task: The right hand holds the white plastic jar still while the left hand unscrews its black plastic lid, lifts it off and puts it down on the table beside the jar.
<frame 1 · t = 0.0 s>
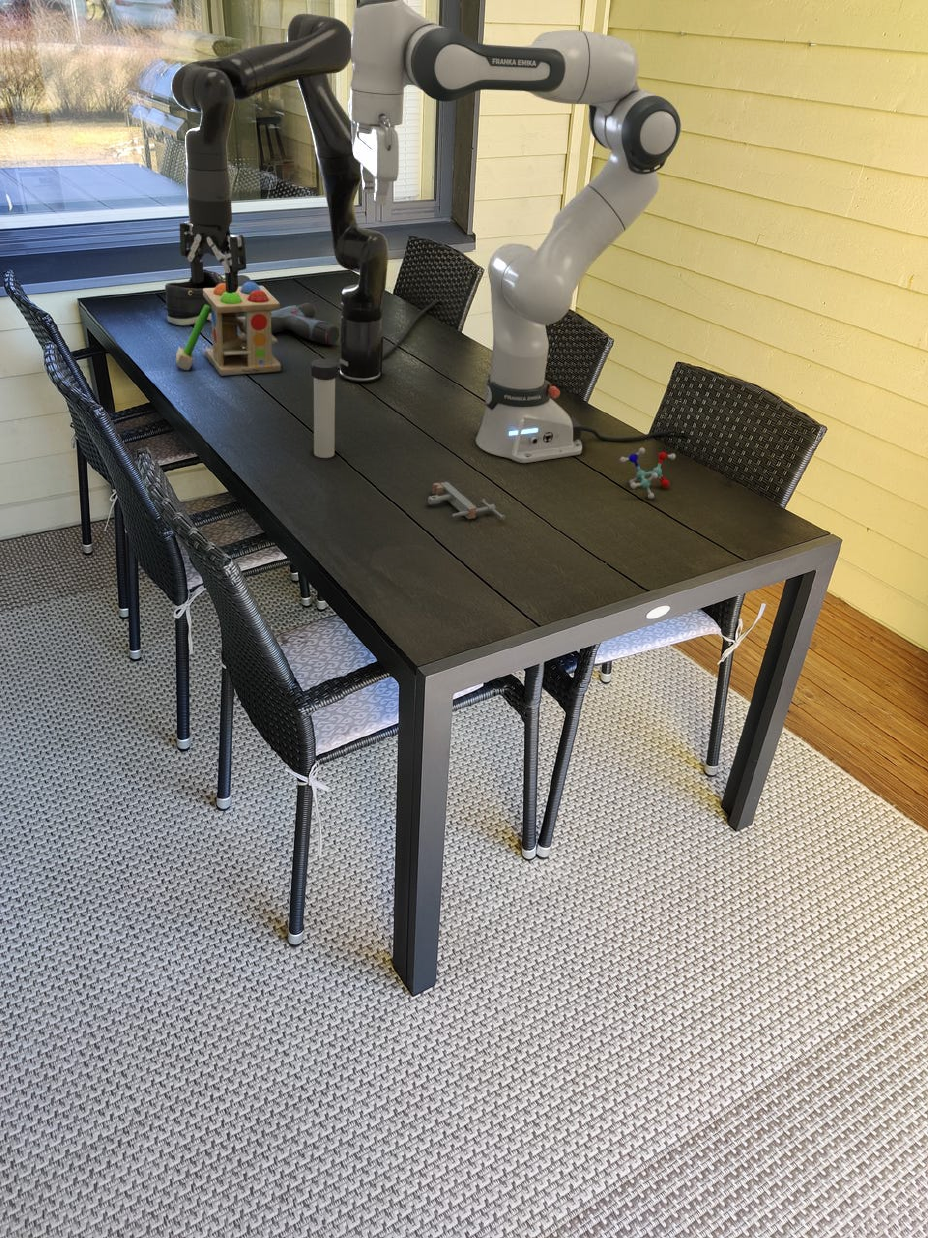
left hand: (214, 287, 183), 29 cm above the table, tool pointing down, fingers open, 8 cm apart
right hand: (373, 198, 171), 48 cm above the table, tool pointing down, fingers open, 8 cm apart
clamp: (461, 510, 180), on the table
power drill: (311, 334, 253), on the table
boat shoe: (212, 309, 263), on the table
pounding bench toy: (225, 365, 230), on the table
lid: (324, 364, 185), point 18 cm above the table, screwed on, not yet turned
molecular model: (641, 488, 194), on the table
jar: (324, 453, 195), on the table
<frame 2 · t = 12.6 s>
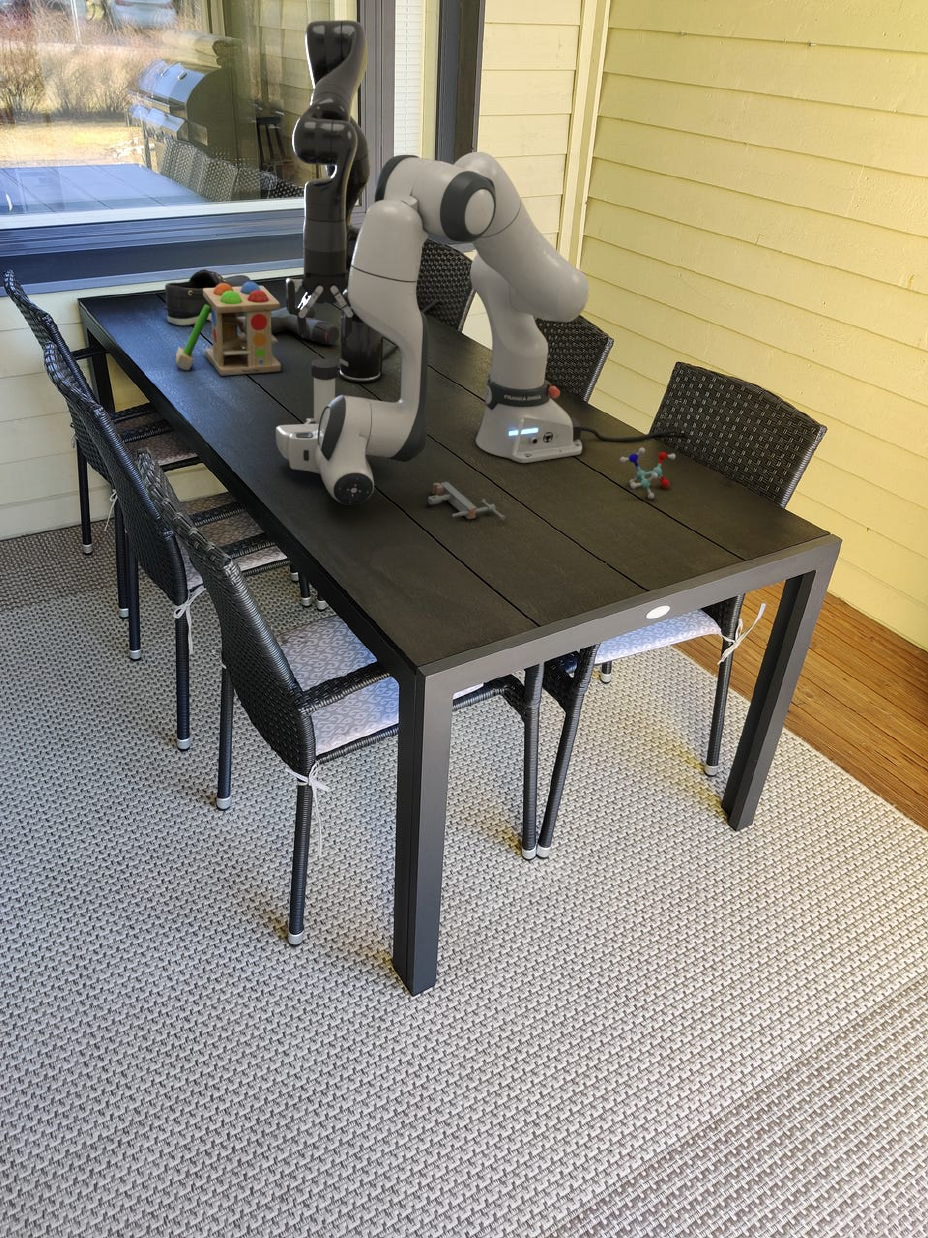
left hand: (324, 335, 182), 24 cm above the table, tool pointing down, fingers open, 7 cm apart
right hand: (323, 421, 192), 7 cm above the table, tool horizontal, fingers closed on jar, 4 cm apart
jar: (324, 453, 195), on the table, touching right hand
everything else where it was.
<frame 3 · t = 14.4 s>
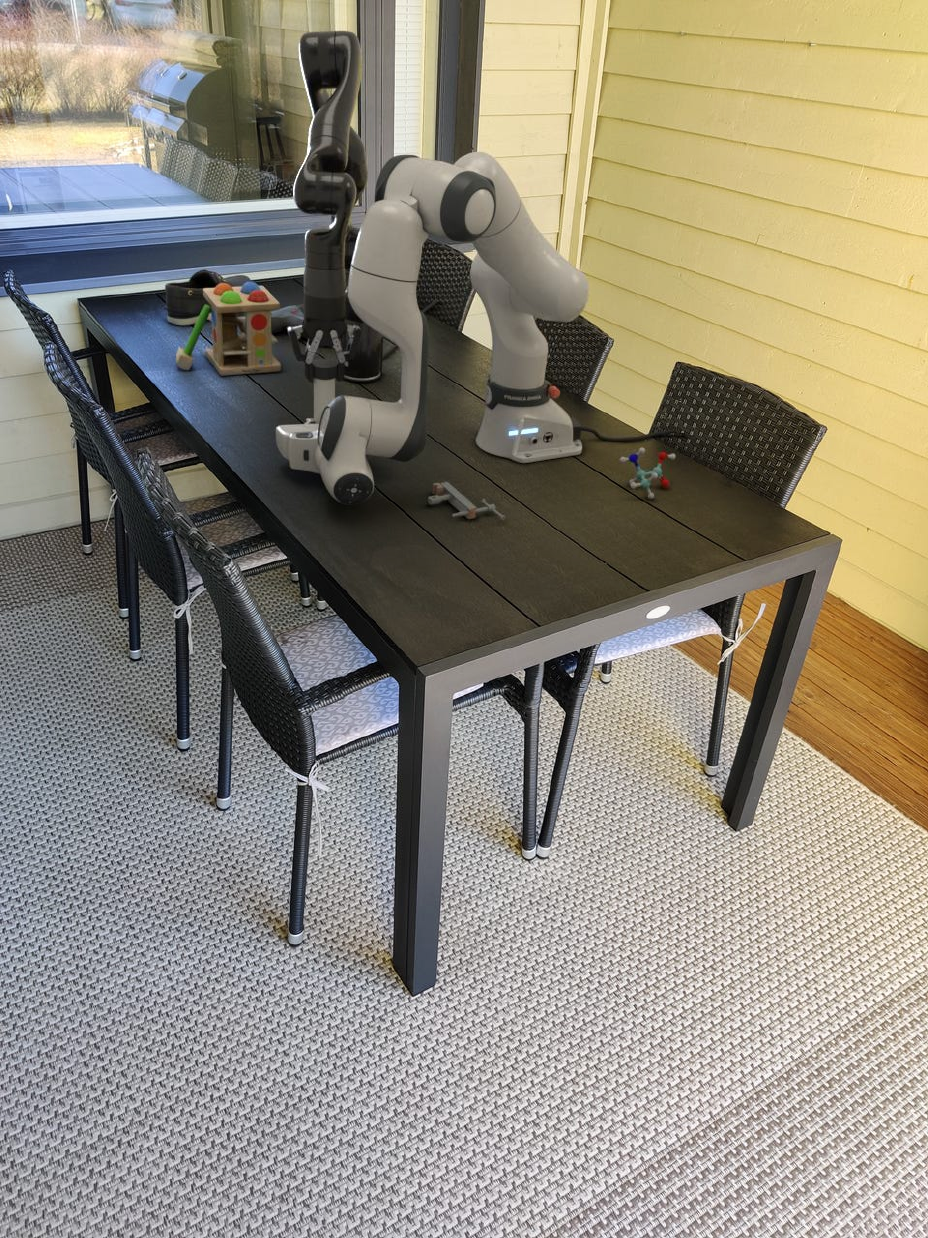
left hand: (324, 380, 187), 15 cm above the table, tool pointing down, fingers closed on lid, 4 cm apart
right hand: (323, 421, 192), 7 cm above the table, tool horizontal, fingers closed on jar, 4 cm apart
lid: (324, 364, 185), point 18 cm above the table, screwed on, not yet turned, touching left hand
jar: (324, 453, 195), on the table, touching right hand
everything else where it was.
when the left hand's fingers open (15 cm above the table, at t = 15.7 s): lid stays where it is, point 18 cm above the table.
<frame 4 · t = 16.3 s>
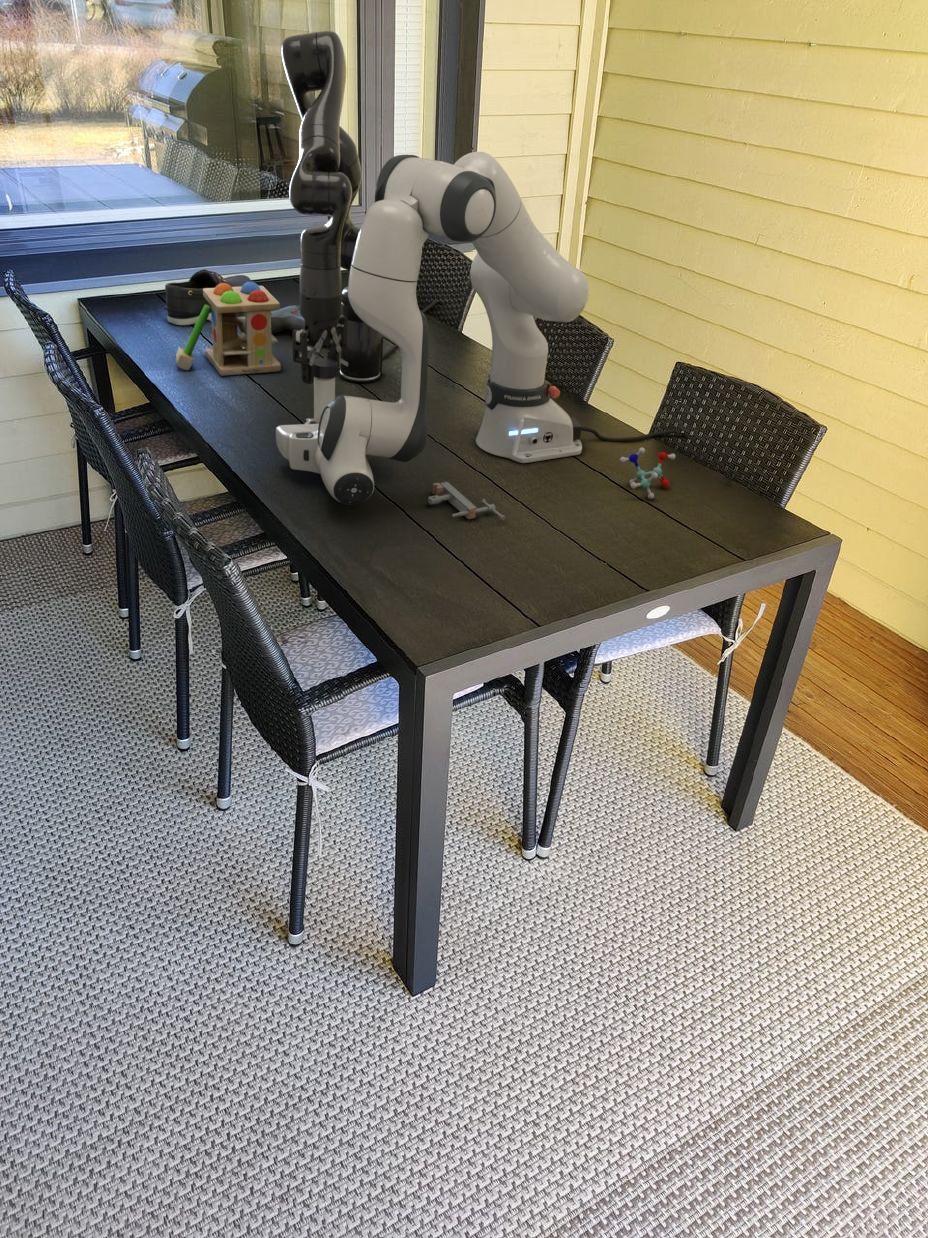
left hand: (320, 376, 187), 16 cm above the table, tool pointing down, fingers open, 7 cm apart
right hand: (323, 421, 192), 7 cm above the table, tool horizontal, fingers closed on jar, 4 cm apart
lid: (324, 363, 185), point 18 cm above the table, turned 64° so far, risen 0.2 cm, still on its thread
jar: (324, 453, 195), on the table, touching right hand
everything else where it was.
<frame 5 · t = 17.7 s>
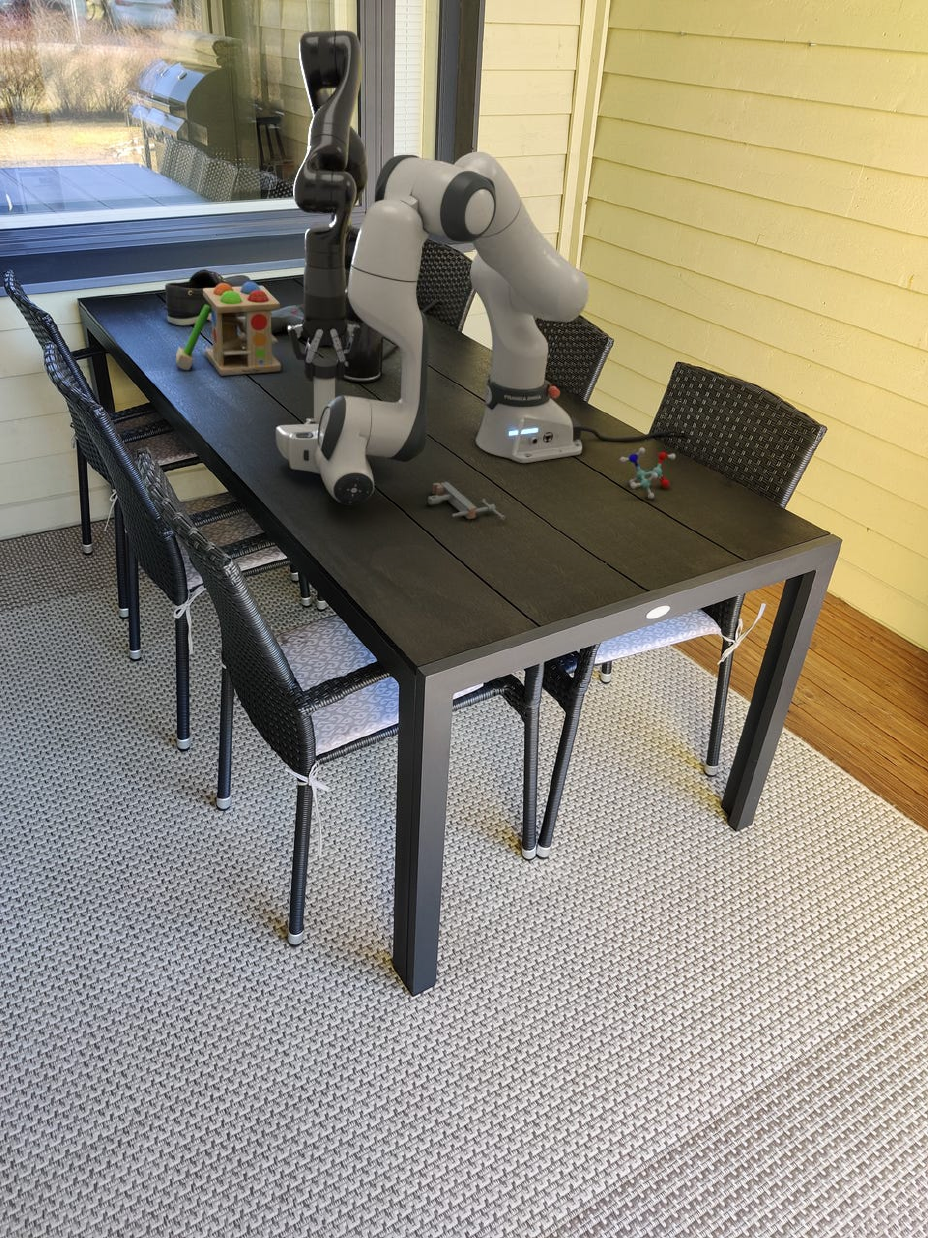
left hand: (324, 379, 187), 15 cm above the table, tool pointing down, fingers closed on lid, 4 cm apart
right hand: (323, 421, 192), 7 cm above the table, tool horizontal, fingers closed on jar, 4 cm apart
lid: (324, 363, 185), point 18 cm above the table, turned 64° so far, risen 0.2 cm, still on its thread, touching left hand
jar: (324, 453, 195), on the table, touching right hand
everything else where it was.
when the left hand's fingers open (0 cm above the table, at t = 23.8 s): lid drops 1 cm, point 2 cm above the table.
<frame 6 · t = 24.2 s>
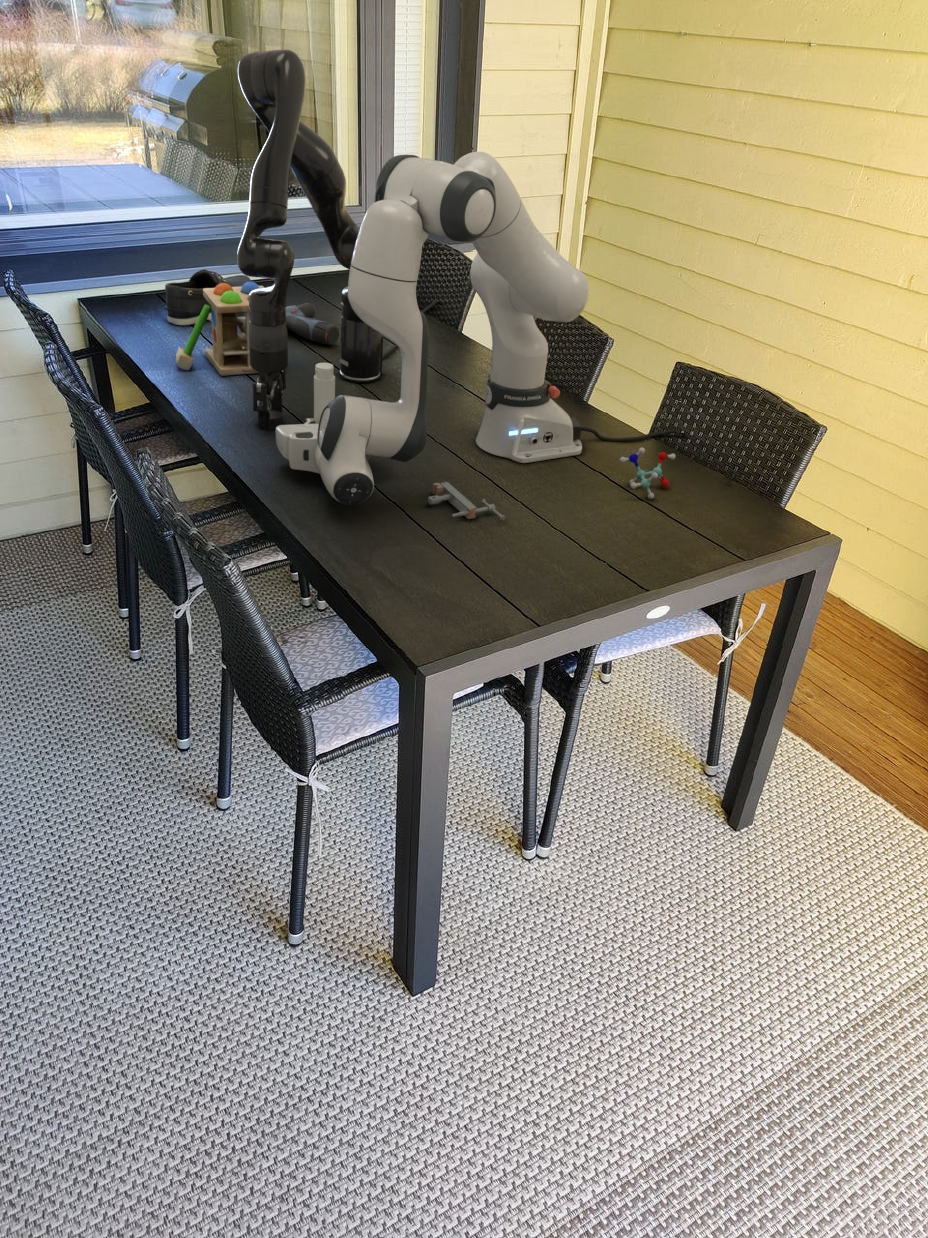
left hand: (270, 420, 204), 1 cm above the table, tool pointing down, fingers open, 8 cm apart
right hand: (323, 421, 192), 7 cm above the table, tool horizontal, fingers closed on jar, 4 cm apart
lid: (270, 415, 203), point 2 cm above the table, off its thread
jar: (324, 453, 195), on the table, touching right hand
everything else where it was.
when the right hand's fingers open (7 cm above the table, at t = 24.8 s): jar stays where it is, on the table.
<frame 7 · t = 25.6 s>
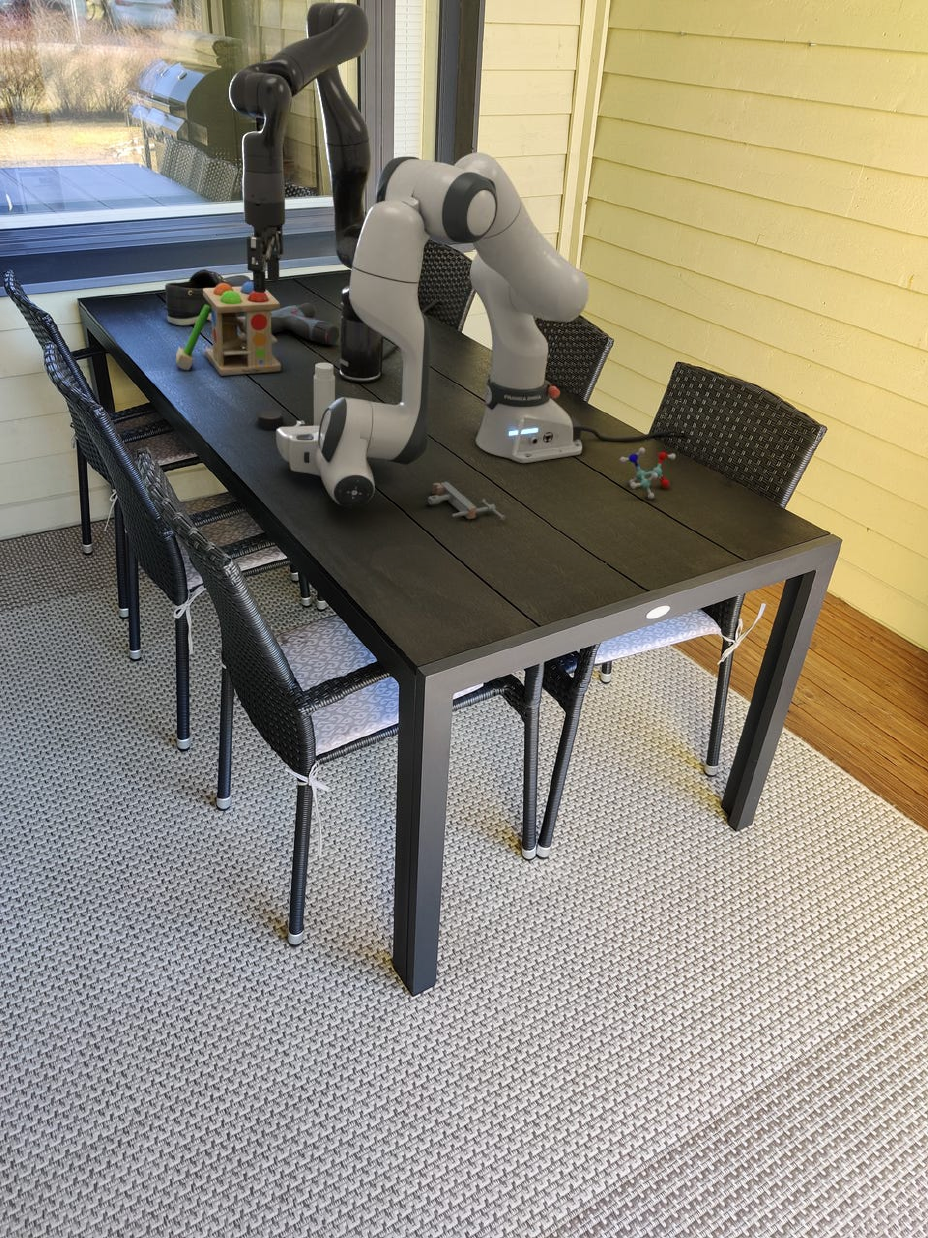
left hand: (266, 285, 188), 29 cm above the table, tool pointing down, fingers open, 8 cm apart
right hand: (324, 423, 192), 7 cm above the table, tool horizontal, fingers open, 8 cm apart
jar: (324, 453, 195), on the table
everything else where it was.
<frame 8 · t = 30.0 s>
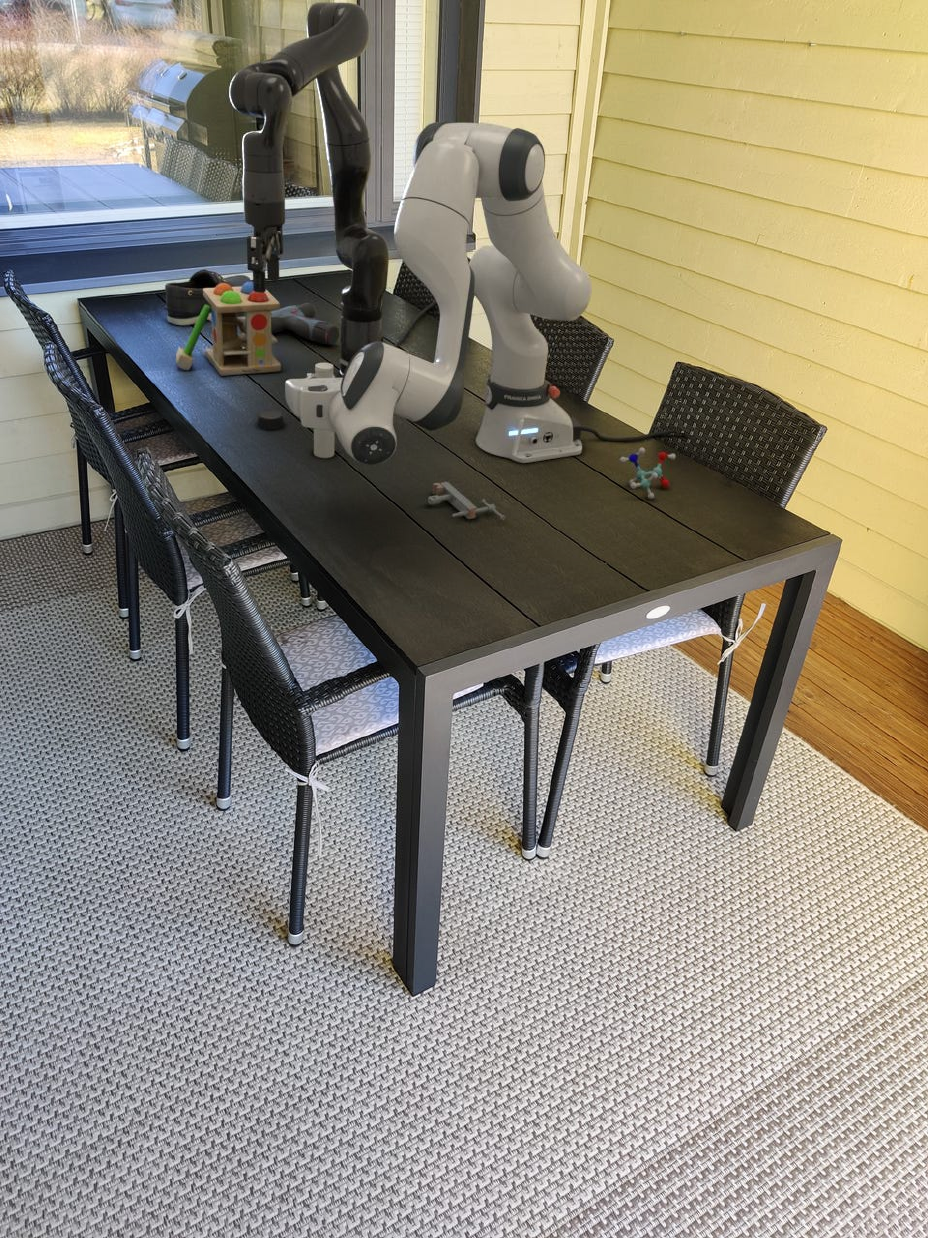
left hand: (266, 285, 188), 29 cm above the table, tool pointing down, fingers open, 8 cm apart
right hand: (337, 376, 174), 21 cm above the table, tool horizontal, fingers open, 8 cm apart
nothing on the table moved.
at the end: lid came off its thread; lid point 2.0 cm above the table; the left hand is holding nothing; the right hand is holding nothing; jar tilted 0°; jar moved 0.0 cm from its start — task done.
